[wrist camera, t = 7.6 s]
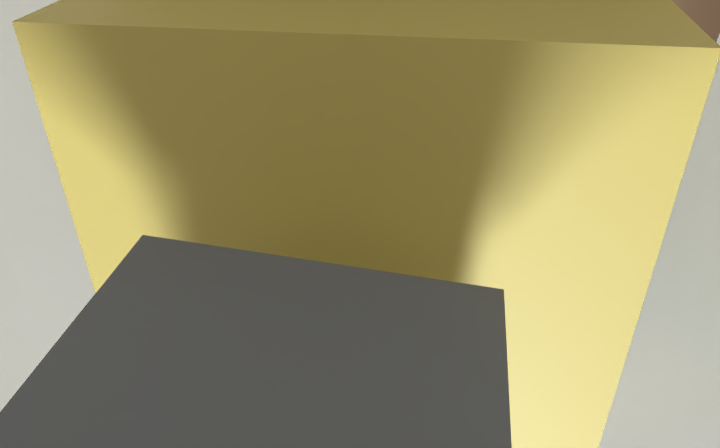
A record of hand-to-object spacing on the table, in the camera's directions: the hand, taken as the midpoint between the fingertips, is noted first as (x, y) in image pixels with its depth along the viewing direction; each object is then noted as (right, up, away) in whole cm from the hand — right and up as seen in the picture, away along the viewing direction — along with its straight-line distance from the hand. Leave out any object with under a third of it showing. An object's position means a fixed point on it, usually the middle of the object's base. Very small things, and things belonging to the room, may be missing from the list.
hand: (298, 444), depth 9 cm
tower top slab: (+1, +4, +6) cm, 7 cm away
